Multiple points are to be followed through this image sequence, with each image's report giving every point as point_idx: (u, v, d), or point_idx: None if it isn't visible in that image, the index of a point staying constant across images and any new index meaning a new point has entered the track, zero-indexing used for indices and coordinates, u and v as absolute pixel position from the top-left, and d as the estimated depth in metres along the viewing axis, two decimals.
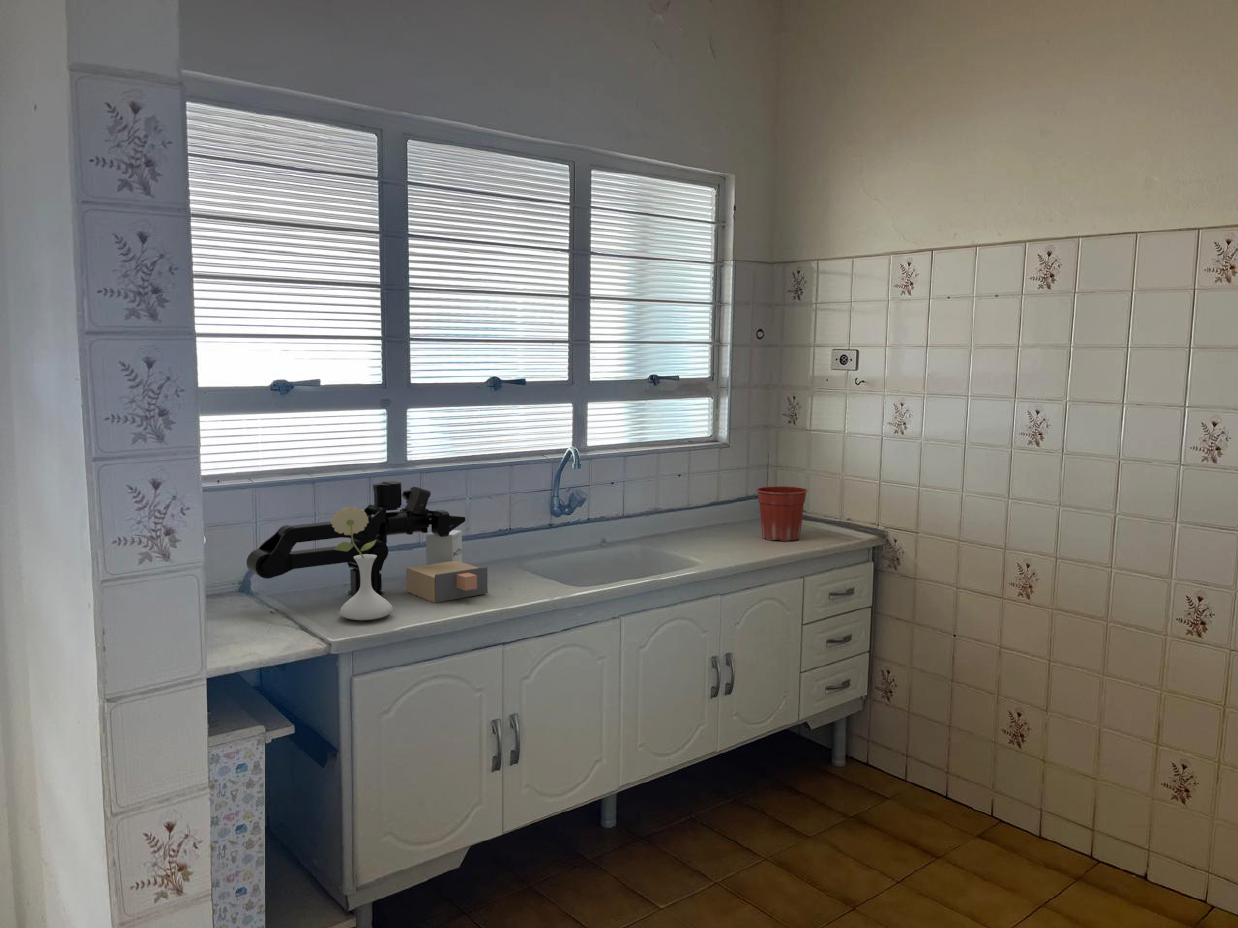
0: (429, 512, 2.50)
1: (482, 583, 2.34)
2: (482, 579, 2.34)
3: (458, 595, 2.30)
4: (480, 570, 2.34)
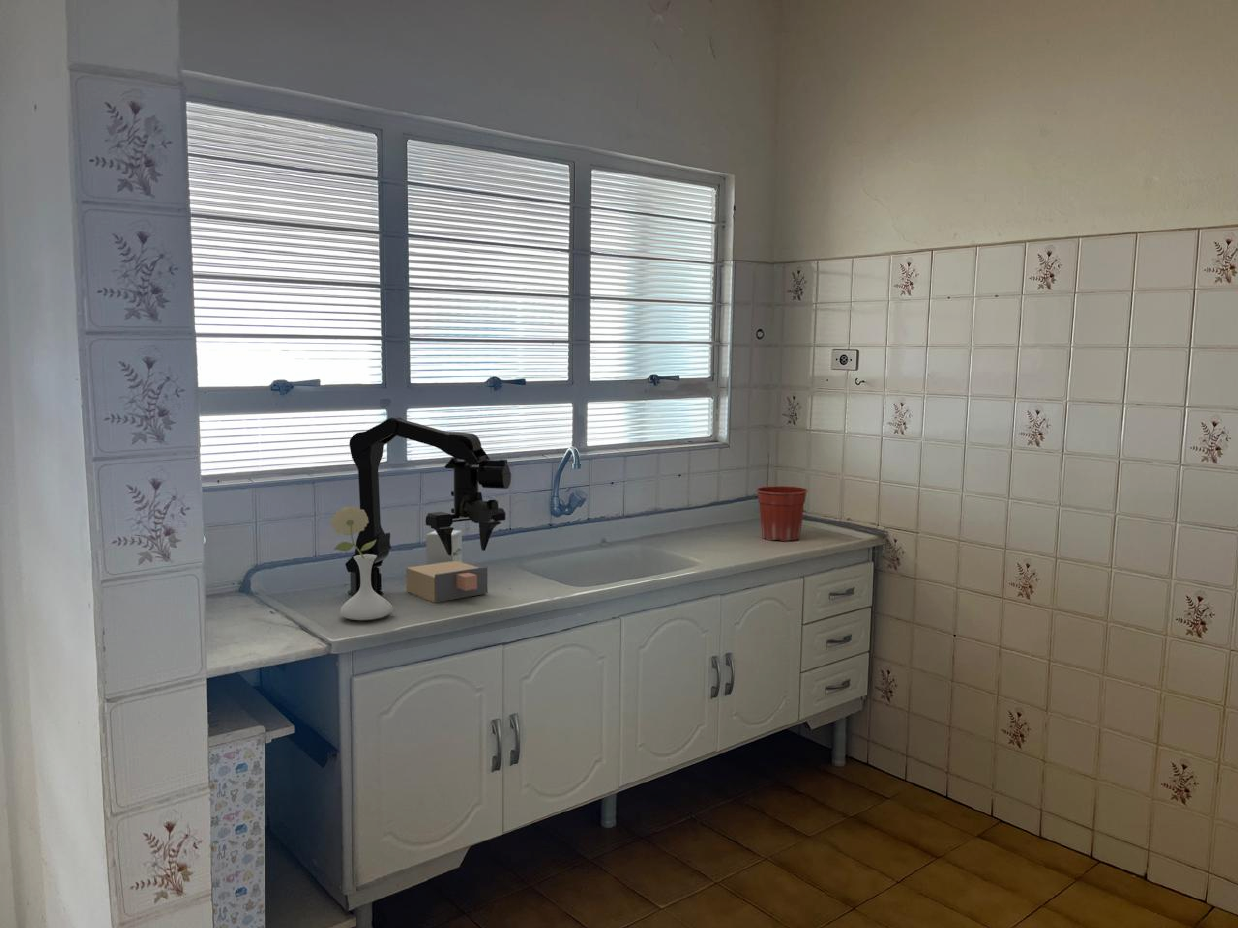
0: (486, 530, 2.30)
1: (482, 583, 2.34)
2: (482, 579, 2.34)
3: (458, 595, 2.30)
4: (480, 570, 2.34)
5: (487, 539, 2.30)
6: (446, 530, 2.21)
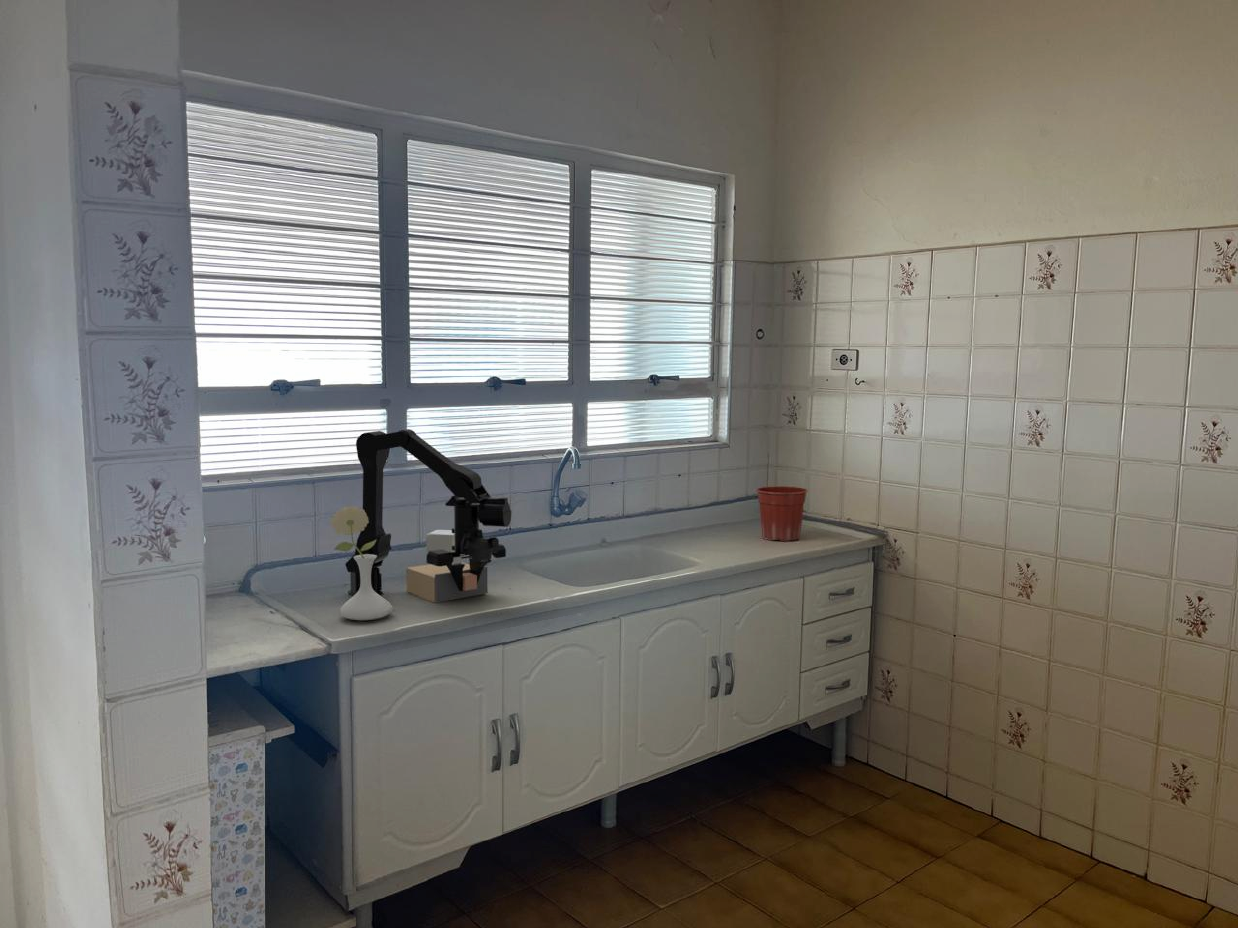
0: (477, 569, 2.29)
1: (482, 583, 2.34)
2: (482, 579, 2.34)
3: (458, 595, 2.30)
4: None
5: (478, 577, 2.29)
6: (457, 567, 2.24)
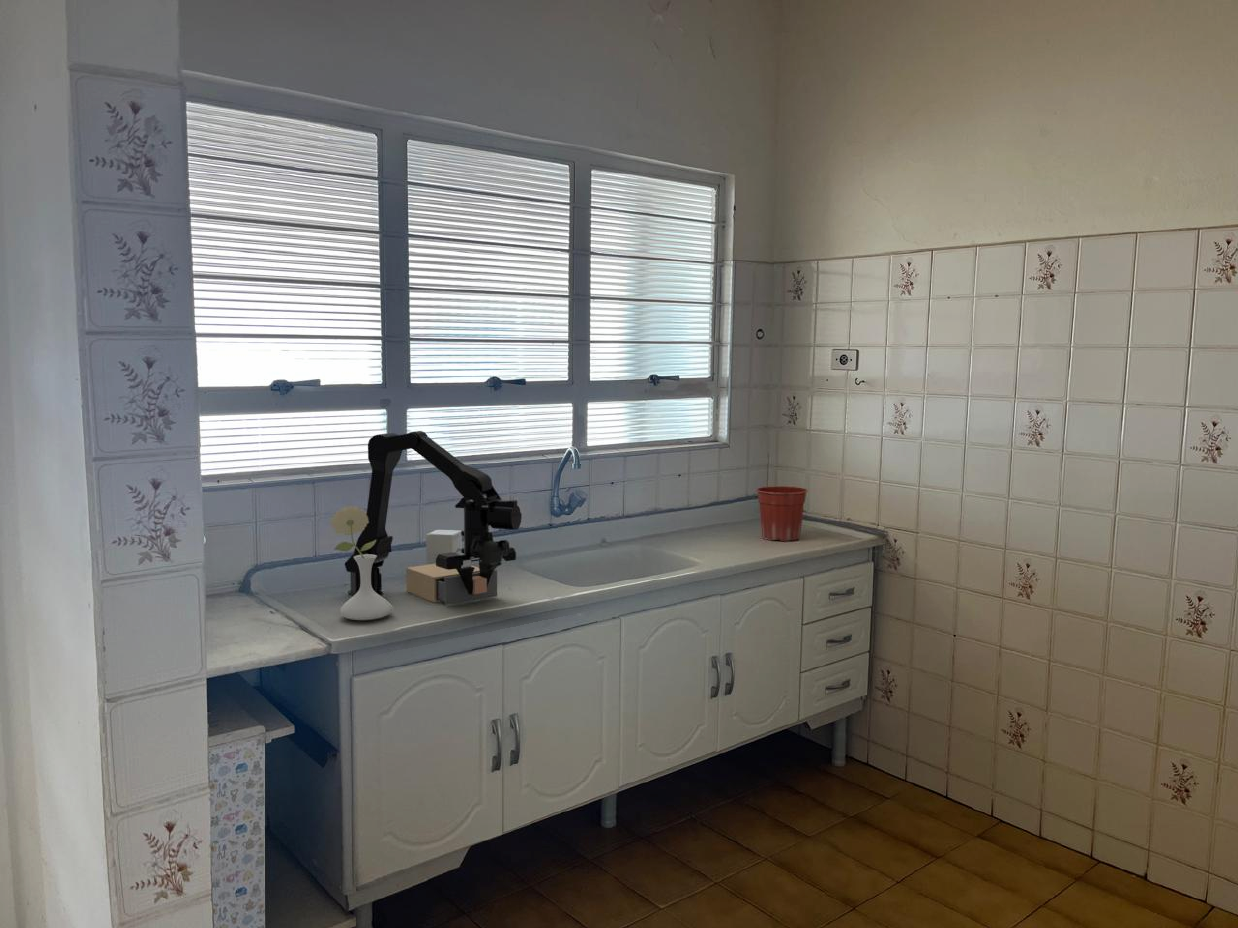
0: (487, 572, 2.26)
1: (492, 586, 2.31)
2: (492, 583, 2.31)
3: (467, 598, 2.27)
4: None
5: (487, 581, 2.26)
6: (467, 570, 2.20)
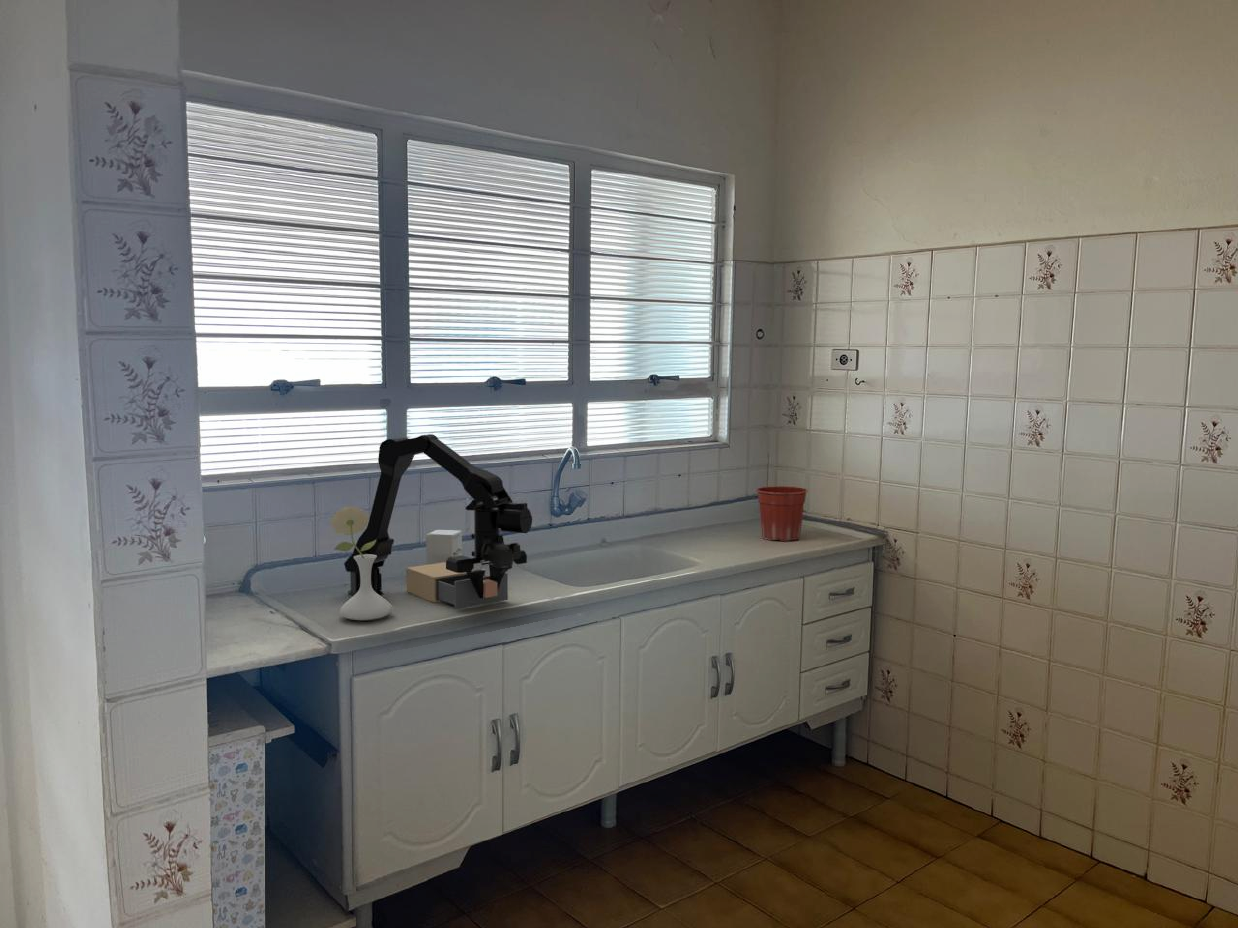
0: (497, 575, 2.22)
1: (502, 590, 2.27)
2: (503, 586, 2.27)
3: (477, 602, 2.23)
4: None
5: (498, 584, 2.22)
6: (478, 573, 2.17)
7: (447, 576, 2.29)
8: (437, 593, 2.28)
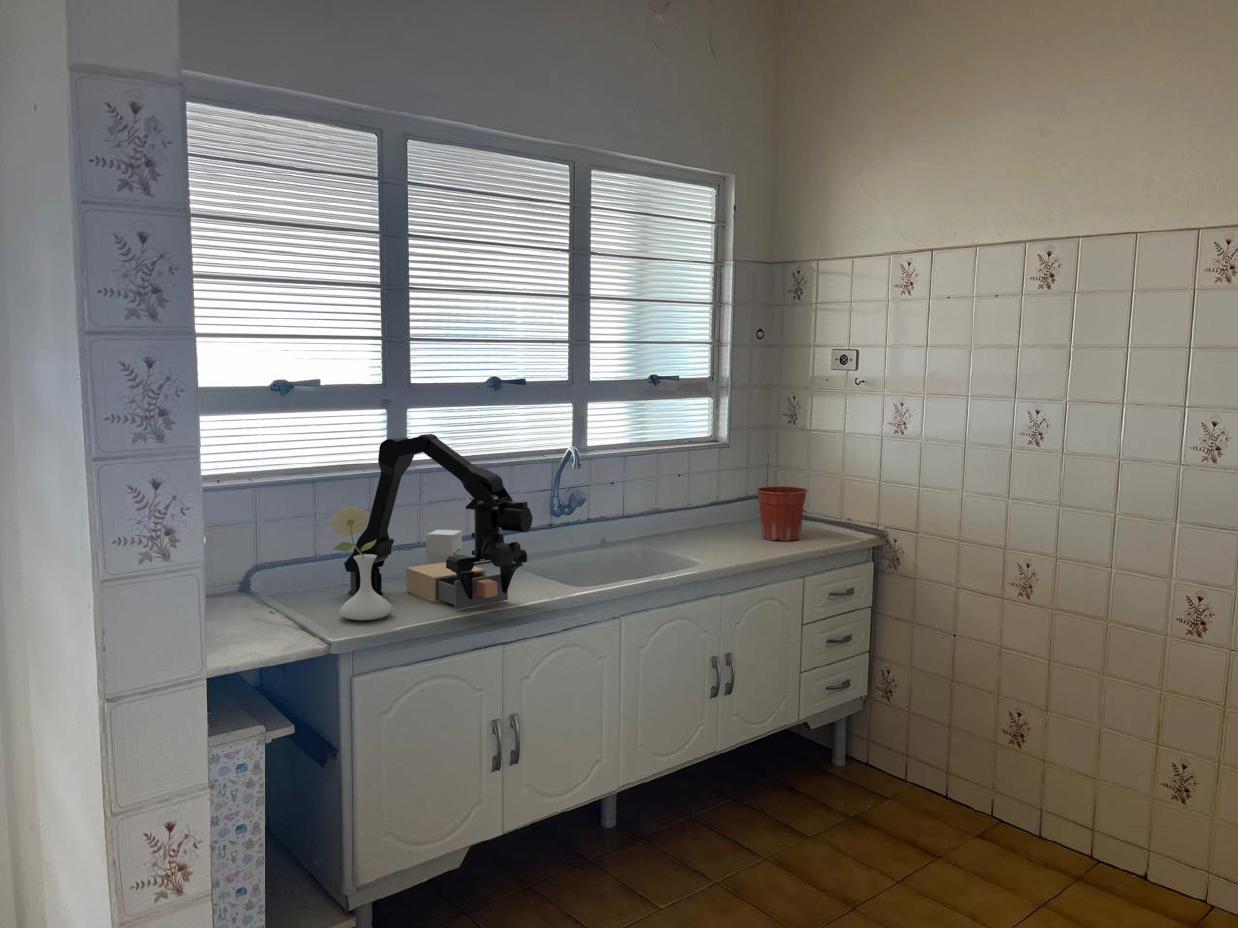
0: (508, 572, 2.24)
1: None
2: None
3: (477, 602, 2.23)
4: None
5: (508, 581, 2.24)
6: (467, 574, 2.15)
7: (447, 576, 2.29)
8: (437, 593, 2.28)
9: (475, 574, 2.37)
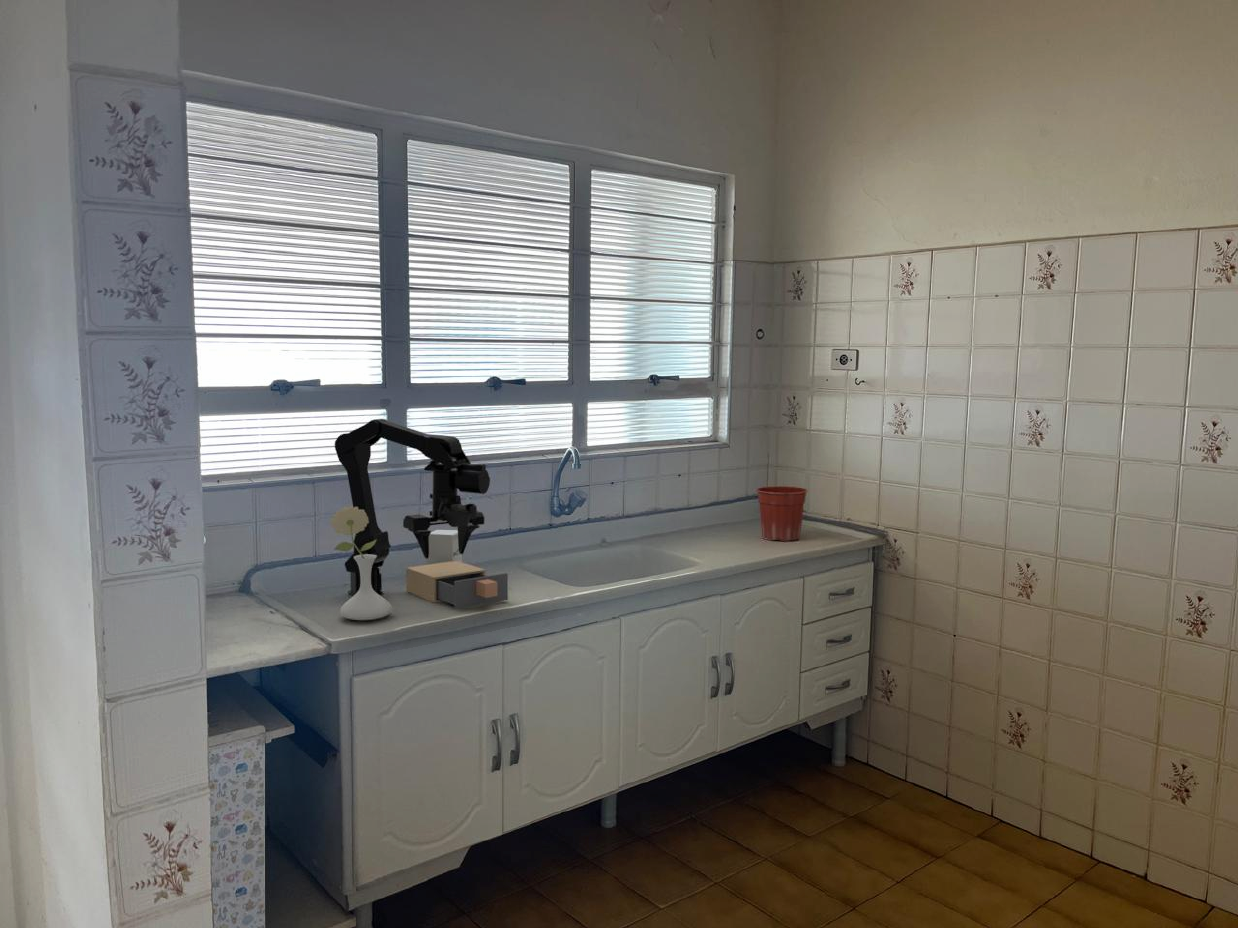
0: (465, 534, 2.29)
1: (502, 590, 2.27)
2: (503, 586, 2.27)
3: (477, 602, 2.23)
4: (501, 576, 2.27)
5: (465, 543, 2.29)
6: (423, 533, 2.20)
7: (447, 576, 2.29)
8: (437, 593, 2.28)
9: (475, 574, 2.37)
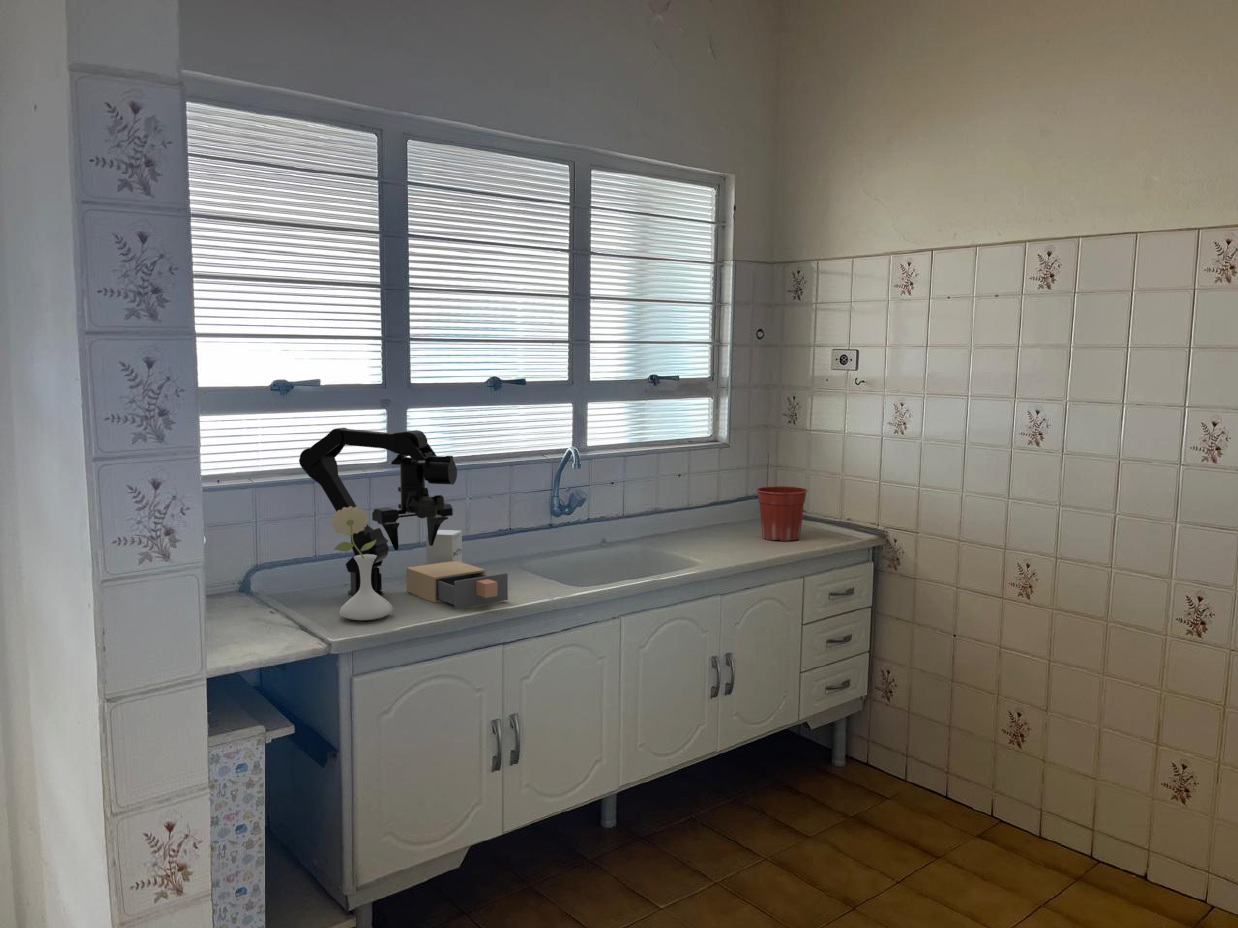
0: (434, 526, 2.33)
1: (502, 590, 2.27)
2: (503, 586, 2.27)
3: (477, 602, 2.23)
4: (501, 576, 2.27)
5: (434, 534, 2.33)
6: (392, 525, 2.24)
7: (447, 576, 2.29)
8: (437, 593, 2.28)
9: (475, 574, 2.37)
